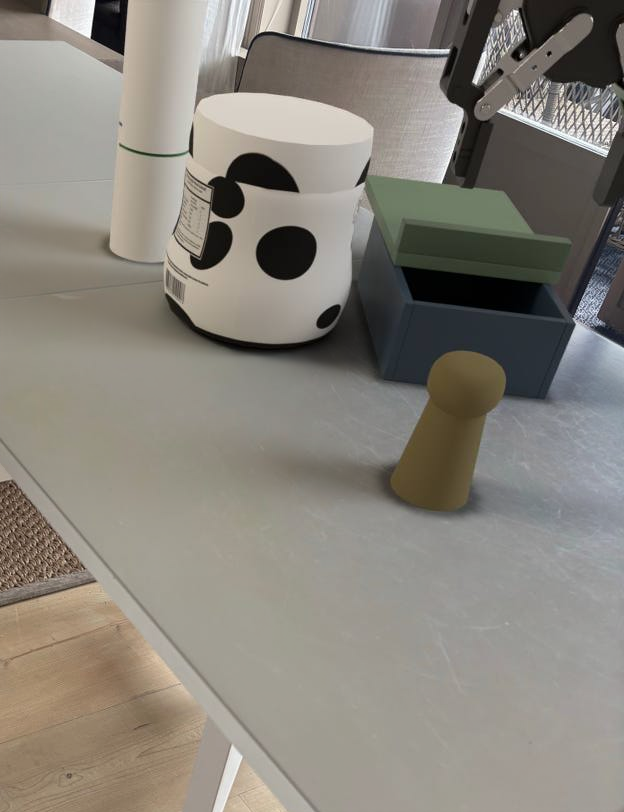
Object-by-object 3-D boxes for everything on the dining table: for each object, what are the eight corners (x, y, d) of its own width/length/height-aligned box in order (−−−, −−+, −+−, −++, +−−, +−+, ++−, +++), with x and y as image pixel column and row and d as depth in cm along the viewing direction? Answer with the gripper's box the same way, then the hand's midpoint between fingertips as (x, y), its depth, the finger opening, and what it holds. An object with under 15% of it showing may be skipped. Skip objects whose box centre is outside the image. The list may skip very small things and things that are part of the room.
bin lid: (500, 202, 105) (512, 166, 102) (556, 285, 88) (573, 243, 85) (362, 185, 104) (371, 148, 102) (393, 265, 87) (405, 223, 85)
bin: (491, 305, 103) (517, 232, 98) (542, 405, 87) (576, 324, 82) (355, 289, 102) (374, 214, 97) (381, 385, 86) (405, 302, 81)
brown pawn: (371, 488, 73) (412, 352, 66) (417, 464, 77) (461, 332, 69) (437, 527, 70) (488, 389, 63) (482, 500, 74) (535, 366, 66)
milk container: (361, 319, 97) (413, 121, 85) (298, 384, 85) (348, 165, 73) (205, 271, 102) (233, 78, 90) (125, 326, 90) (145, 112, 78)
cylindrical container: (168, 243, 107) (200, -30, 90) (181, 269, 102) (218, -16, 85) (104, 240, 105) (125, -38, 89) (114, 266, 100) (137, -23, 83)
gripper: (531, -163, 45) (427, 200, 56) (829, -122, 46) (669, 230, 56) (496, -171, 51) (408, 161, 62) (762, -134, 51) (628, 189, 62)
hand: (533, 194), depth 59 cm, fingers open, 8 cm apart
